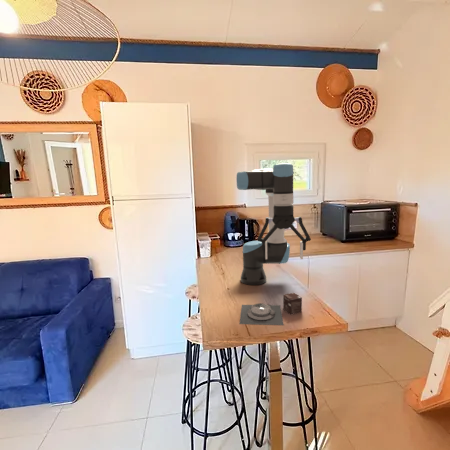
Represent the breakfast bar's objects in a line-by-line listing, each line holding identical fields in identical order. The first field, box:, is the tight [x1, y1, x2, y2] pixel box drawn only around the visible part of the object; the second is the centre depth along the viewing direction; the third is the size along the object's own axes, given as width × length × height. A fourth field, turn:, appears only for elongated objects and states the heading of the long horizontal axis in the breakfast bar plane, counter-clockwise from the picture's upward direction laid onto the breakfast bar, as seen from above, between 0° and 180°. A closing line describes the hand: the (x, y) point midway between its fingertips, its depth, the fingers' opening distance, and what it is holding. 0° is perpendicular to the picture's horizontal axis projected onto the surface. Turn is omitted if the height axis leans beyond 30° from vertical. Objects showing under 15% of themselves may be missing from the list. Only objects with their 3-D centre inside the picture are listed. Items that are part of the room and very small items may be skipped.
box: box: [282, 292, 303, 315], centre depth 123 cm, size 6×6×7 cm
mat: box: [239, 304, 285, 326], centre depth 122 cm, size 18×18×1 cm
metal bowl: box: [247, 303, 275, 321], centre depth 122 cm, size 12×12×3 cm
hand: (283, 258), depth 109 cm, fingers open, 13 cm apart
